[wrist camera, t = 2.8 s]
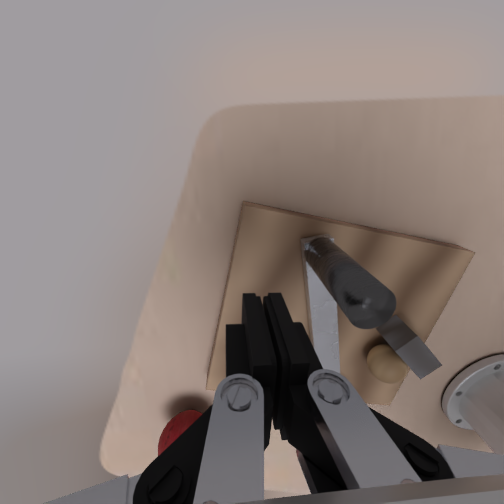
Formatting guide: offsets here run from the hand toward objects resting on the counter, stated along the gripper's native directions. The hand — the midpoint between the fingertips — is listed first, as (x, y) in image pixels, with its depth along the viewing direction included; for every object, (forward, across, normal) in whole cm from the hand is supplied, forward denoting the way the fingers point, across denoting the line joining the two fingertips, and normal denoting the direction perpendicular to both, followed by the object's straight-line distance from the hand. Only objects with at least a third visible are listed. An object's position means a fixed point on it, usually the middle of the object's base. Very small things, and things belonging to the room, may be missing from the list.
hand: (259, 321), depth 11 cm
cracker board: (+12, -9, +9) cm, 18 cm away
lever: (+10, -8, +9) cm, 16 cm away
